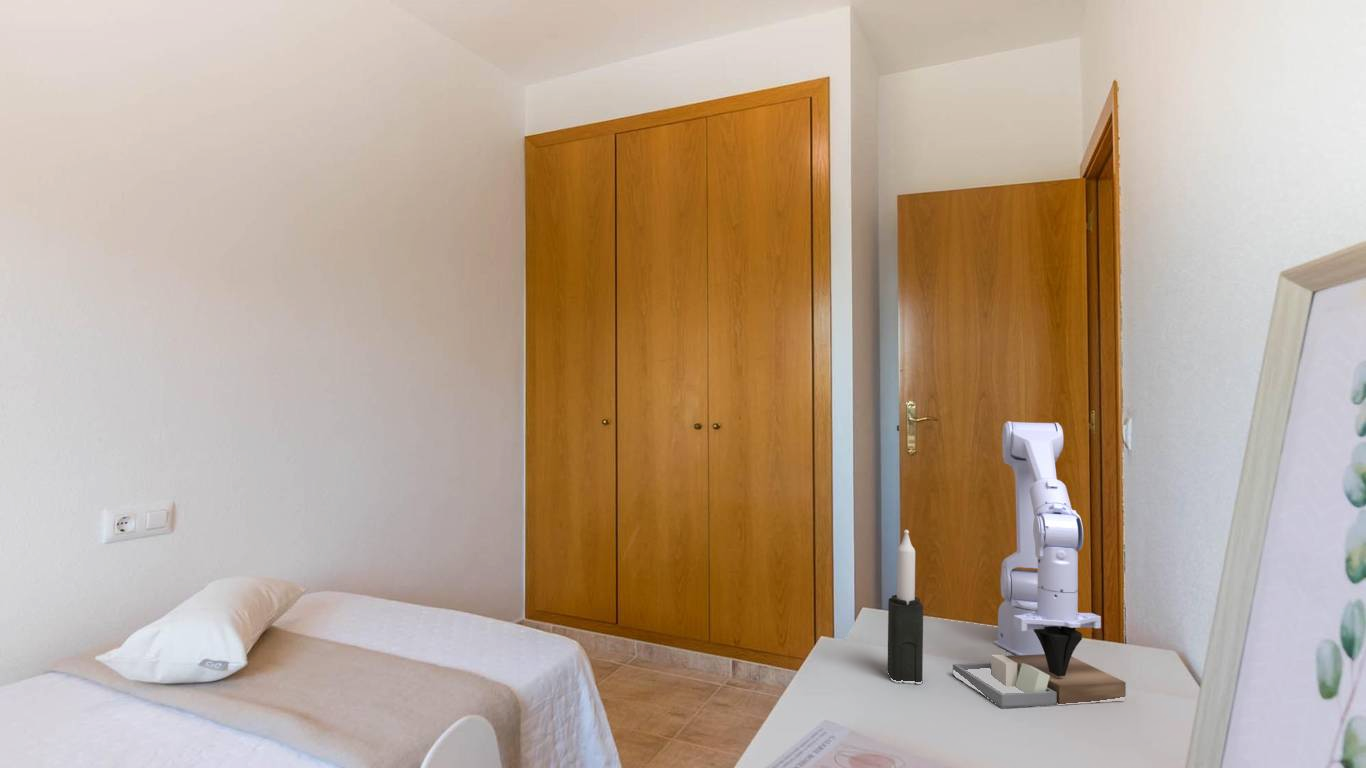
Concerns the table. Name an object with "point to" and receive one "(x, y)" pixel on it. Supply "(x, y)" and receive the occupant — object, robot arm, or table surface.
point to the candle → (905, 620)
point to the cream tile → (1004, 670)
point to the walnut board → (1076, 680)
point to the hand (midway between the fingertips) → (1057, 673)
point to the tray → (1008, 698)
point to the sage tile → (1031, 679)
